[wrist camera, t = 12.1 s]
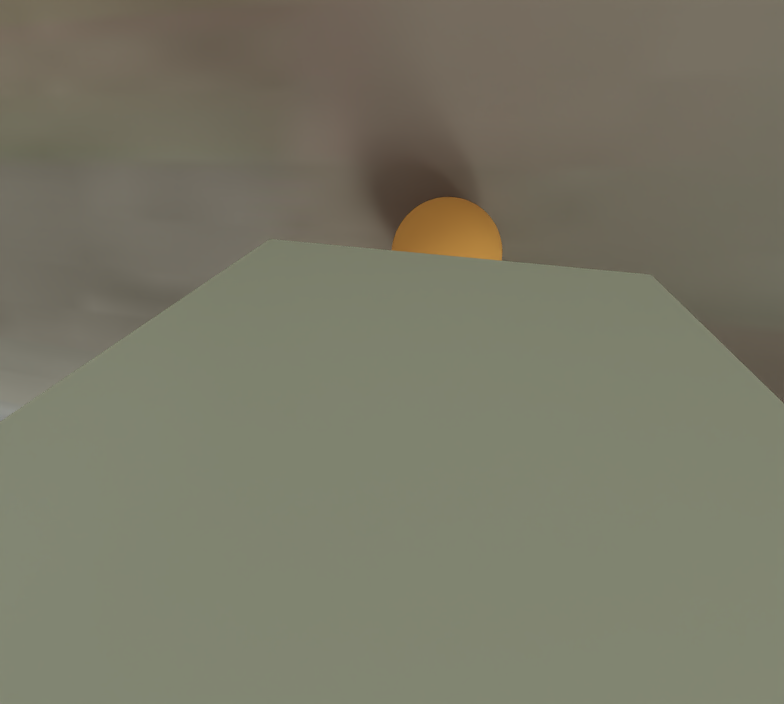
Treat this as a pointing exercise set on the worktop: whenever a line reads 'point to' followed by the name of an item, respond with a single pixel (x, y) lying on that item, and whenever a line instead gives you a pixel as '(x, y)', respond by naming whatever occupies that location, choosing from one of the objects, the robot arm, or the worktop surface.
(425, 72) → the worktop surface
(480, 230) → the ball
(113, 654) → the pale green cube
